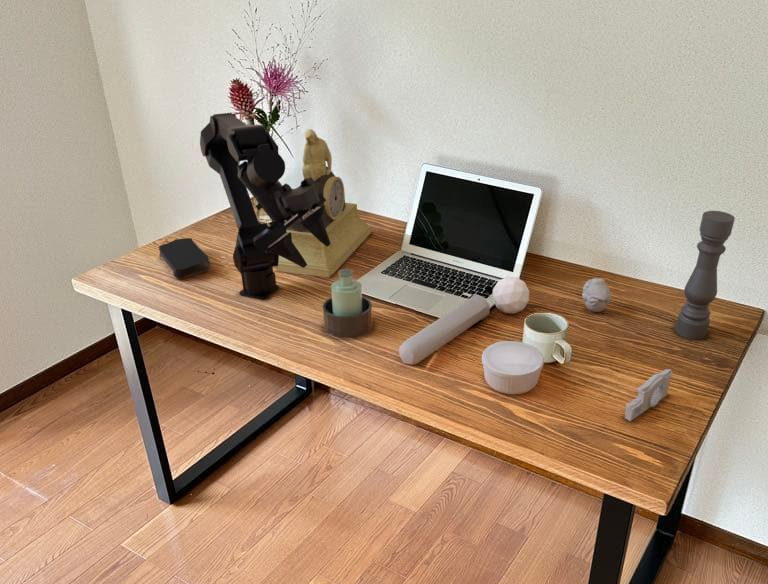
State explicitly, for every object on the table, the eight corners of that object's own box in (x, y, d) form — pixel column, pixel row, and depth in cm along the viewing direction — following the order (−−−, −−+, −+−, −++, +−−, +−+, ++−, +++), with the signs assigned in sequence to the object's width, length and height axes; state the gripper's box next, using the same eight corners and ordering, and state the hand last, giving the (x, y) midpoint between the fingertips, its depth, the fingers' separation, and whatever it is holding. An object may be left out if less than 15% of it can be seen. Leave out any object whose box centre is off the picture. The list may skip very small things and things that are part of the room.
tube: (418, 355, 133) (493, 304, 149) (396, 338, 134) (473, 289, 151) (411, 375, 136) (485, 322, 153) (390, 358, 138) (466, 308, 155)
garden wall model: (630, 423, 123) (636, 394, 120) (621, 418, 124) (627, 390, 121) (668, 395, 130) (675, 368, 127) (660, 391, 131) (666, 363, 128)
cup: (315, 333, 146) (314, 312, 144) (337, 311, 154) (336, 290, 151) (360, 343, 144) (359, 321, 141) (379, 320, 151) (379, 299, 149)
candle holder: (706, 327, 151) (736, 212, 138) (706, 341, 146) (736, 224, 133) (675, 322, 153) (701, 208, 139) (674, 336, 148) (701, 219, 134)
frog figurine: (600, 301, 160) (605, 272, 156) (614, 316, 154) (619, 286, 151) (574, 303, 159) (578, 274, 155) (588, 319, 153) (592, 289, 149)
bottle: (328, 329, 147) (324, 275, 141) (341, 315, 152) (338, 263, 145) (355, 334, 145) (353, 280, 139) (367, 321, 150) (365, 268, 144)
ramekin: (498, 404, 127) (500, 379, 124) (469, 371, 136) (471, 347, 133) (553, 390, 131) (556, 366, 128) (522, 359, 139) (524, 335, 137)
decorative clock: (328, 278, 167) (320, 148, 151) (277, 271, 170) (264, 142, 154) (370, 233, 190) (367, 115, 174) (325, 227, 193) (317, 111, 177)
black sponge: (214, 274, 168) (211, 260, 166) (177, 282, 164) (174, 268, 162) (192, 249, 180) (190, 235, 178) (157, 257, 176) (154, 242, 174)
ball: (517, 320, 158) (543, 297, 154) (497, 321, 152) (523, 296, 147) (499, 293, 160) (524, 269, 156) (478, 292, 154) (503, 268, 150)
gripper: (264, 189, 128) (319, 261, 133) (317, 152, 142) (365, 218, 146) (229, 217, 135) (282, 284, 139) (283, 179, 149) (330, 241, 153)
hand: (317, 255), depth 144 cm, fingers open, 9 cm apart
